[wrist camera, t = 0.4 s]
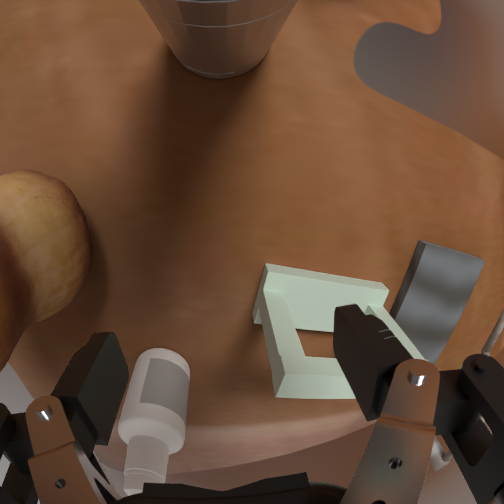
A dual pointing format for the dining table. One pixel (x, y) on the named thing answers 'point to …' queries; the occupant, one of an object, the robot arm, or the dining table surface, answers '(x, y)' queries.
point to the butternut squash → (38, 252)
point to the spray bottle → (153, 416)
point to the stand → (312, 327)
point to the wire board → (437, 307)
